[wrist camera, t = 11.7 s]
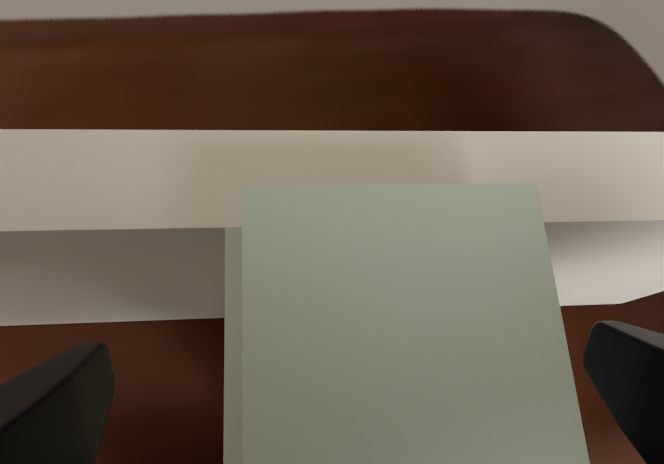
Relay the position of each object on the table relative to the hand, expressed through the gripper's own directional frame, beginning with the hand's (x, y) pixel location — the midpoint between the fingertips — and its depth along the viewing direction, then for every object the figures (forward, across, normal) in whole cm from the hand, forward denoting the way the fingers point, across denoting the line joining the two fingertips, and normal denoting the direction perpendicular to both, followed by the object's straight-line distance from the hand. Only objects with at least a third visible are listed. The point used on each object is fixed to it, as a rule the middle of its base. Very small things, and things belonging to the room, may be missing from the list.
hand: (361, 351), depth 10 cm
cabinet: (+7, 0, -7) cm, 9 cm away
